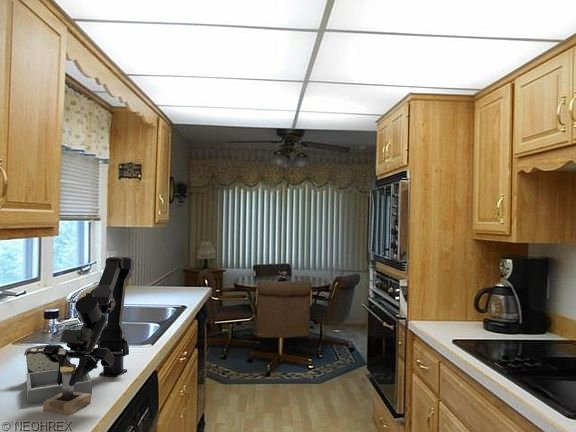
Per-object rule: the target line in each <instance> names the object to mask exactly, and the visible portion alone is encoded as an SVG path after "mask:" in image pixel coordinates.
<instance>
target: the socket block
mask: <svg viewBox="0 0 576 432" xmlns="http://www.w3.org/2000/svg"><path fill="white" fill-rule="evenodd" d="M91 400H92V394H88V393H80V392H74V399H73V400H71V401H69V402H68V401H62V393H60V394H58V395H56V396H54V397H52V398H50V399H48V400H46V401H44V402H43V409H42V410H43V412H46V413H53V414H58V415H59V414H60V415H67V416H71V415H73V414H74V413H76V412H78V411H80V410H82V409H83V408H86V407H88V406H89V405H90V404H92V401H91Z"/></svg>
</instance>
